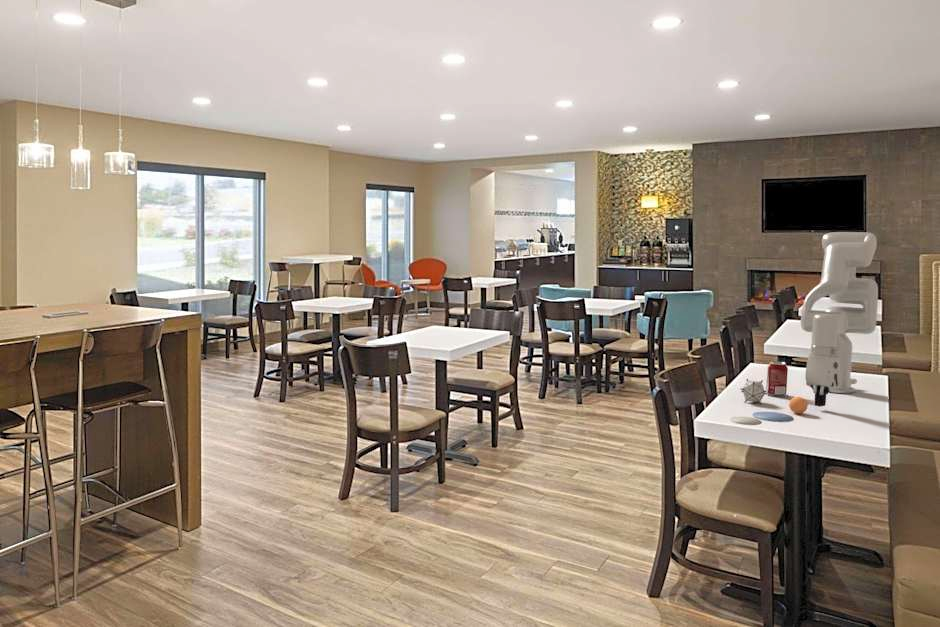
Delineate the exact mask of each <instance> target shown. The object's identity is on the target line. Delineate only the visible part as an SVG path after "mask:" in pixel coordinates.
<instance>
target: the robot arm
mask: <svg viewBox="0 0 940 627" xmlns="http://www.w3.org/2000/svg"><path fill="white" fill-rule="evenodd" d="M877 244H878V243H877V237H876V235H875V234H874V233H873V232H865V231H864V232H863V231H860V232H859V231H858V232H856V231H835V232H833V231H832V232H828V233H825V234H824V235H823V236H822V239H821V246H822V249H823V251H824V254H823V262H822V268H821V269H822V270H821V277H820V282H819V284H817V285H816V286H814V288H812V289H811V290H810V291H809V292H808V294H807V295H806V297H805V298H804V300H803V303H802V309H801V316H800V327H801V329H802V330H803V331H804V332H807V333H811V344H810V345H811V346H810V347H811V348H810V353H809V355H808V358H807V362H806V367H805V381H806V383H805V384H806V385H807V386H808V387H810V388H811V389H812V392H813V394H814V406H815V407H825V406H826V403H827V395H828V394H829V393H834V394H852V393H854V392H855V388H854V387H852V386H851V385H856V384H857V383H858V380H857V379H856V378H852V377H851V373H852V372H851V371H852V370H851V369H852V359H853V358H852V357H853V343H852V341H851V339H850V338H849V337H848V336H847V334H857V335H859V334H860V335H861V334H862V335H870V334H873V333H874V332H875V331H876V326H877V316H878V299H879V287H878V284H877V282H876V281H875V280H874V279H872V278H866V277H863V278H861V277H860V278H859V277H856V274H857V268H867V267H869V266H870V264H872V261H873V258H874V255H875V252H876V249H877ZM827 296H829V299H830V301H832V303H838V304H848V305H849V304H851V305H860V306H862V307H854V306H853V307H852V306H836V305H834V306H830V307H827V308H826V309H825V310H812V309H813V307H814V305H815V304H816V302H818V301H819V300H820V299H822V298H825V297H827Z"/></svg>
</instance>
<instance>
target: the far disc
mask: <svg viewBox="0 0 940 627" xmlns="http://www.w3.org/2000/svg"><path fill="white" fill-rule="evenodd" d="M731 420H732V421H731ZM730 421H731V422H733V421H734V422H733V423H736V422H737V424H740V423H742V424H741V425H748V424H749V425H755V426H756V425H759V424H761V423H762V421H761V419H758V418H756V417H750V416H732V417H730Z"/></svg>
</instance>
